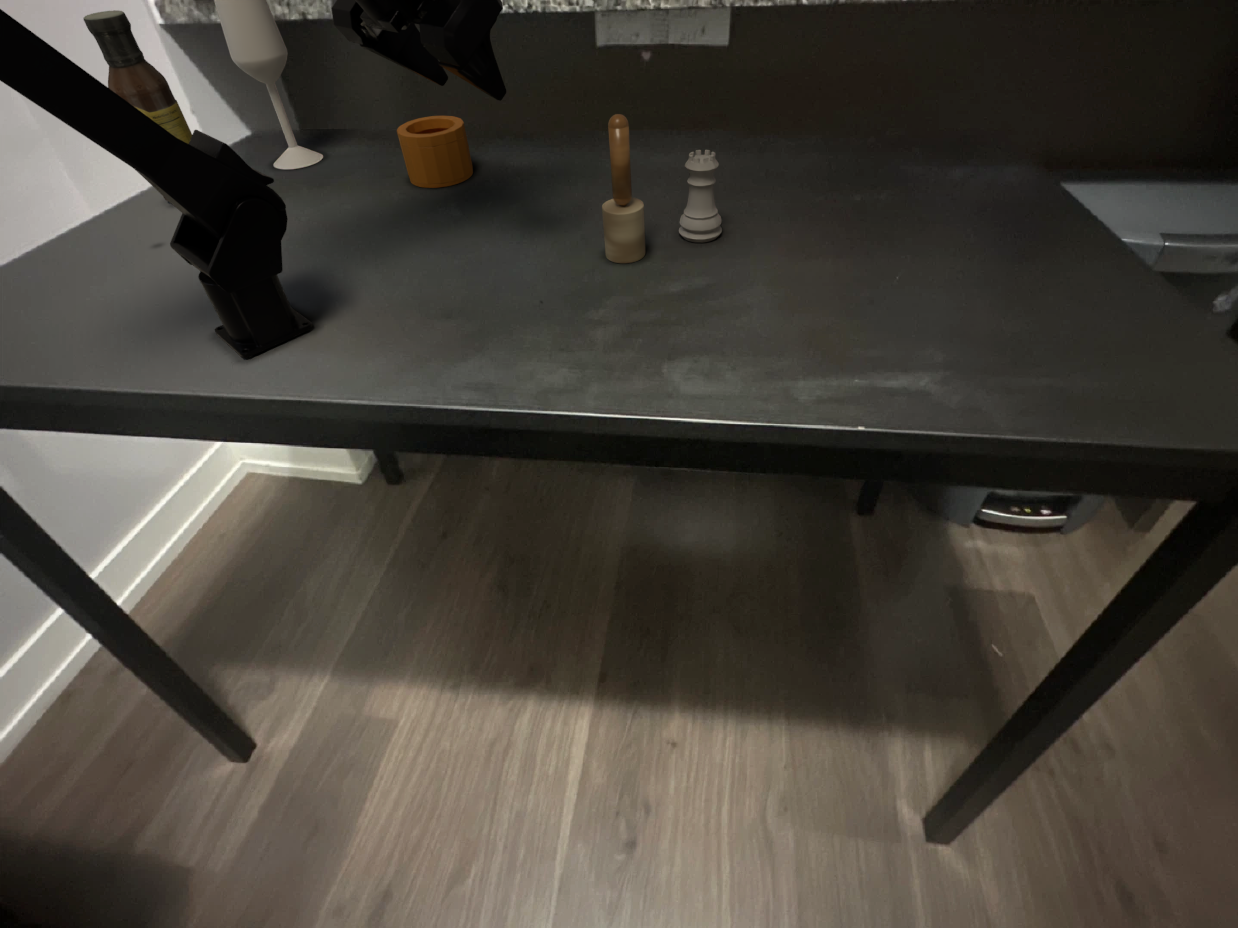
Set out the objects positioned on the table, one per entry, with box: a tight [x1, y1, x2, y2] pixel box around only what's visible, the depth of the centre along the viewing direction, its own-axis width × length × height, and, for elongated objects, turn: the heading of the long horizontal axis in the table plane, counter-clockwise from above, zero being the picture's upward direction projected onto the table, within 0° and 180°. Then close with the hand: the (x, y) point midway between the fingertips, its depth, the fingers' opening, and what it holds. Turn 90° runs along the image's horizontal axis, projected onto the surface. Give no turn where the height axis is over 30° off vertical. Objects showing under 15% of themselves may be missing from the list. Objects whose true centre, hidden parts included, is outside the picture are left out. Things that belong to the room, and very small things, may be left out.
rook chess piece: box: [678, 149, 723, 243], centre depth 68 cm, size 4×4×8 cm
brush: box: [601, 113, 646, 264], centre depth 64 cm, size 4×4×13 cm
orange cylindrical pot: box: [396, 115, 474, 189], centre depth 85 cm, size 8×8×6 cm
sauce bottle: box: [82, 9, 193, 203], centre depth 80 cm, size 6×6×20 cm
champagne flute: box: [213, 0, 324, 170], centre depth 87 cm, size 7×7×24 cm
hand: (472, 88), depth 65 cm, fingers open, 9 cm apart
